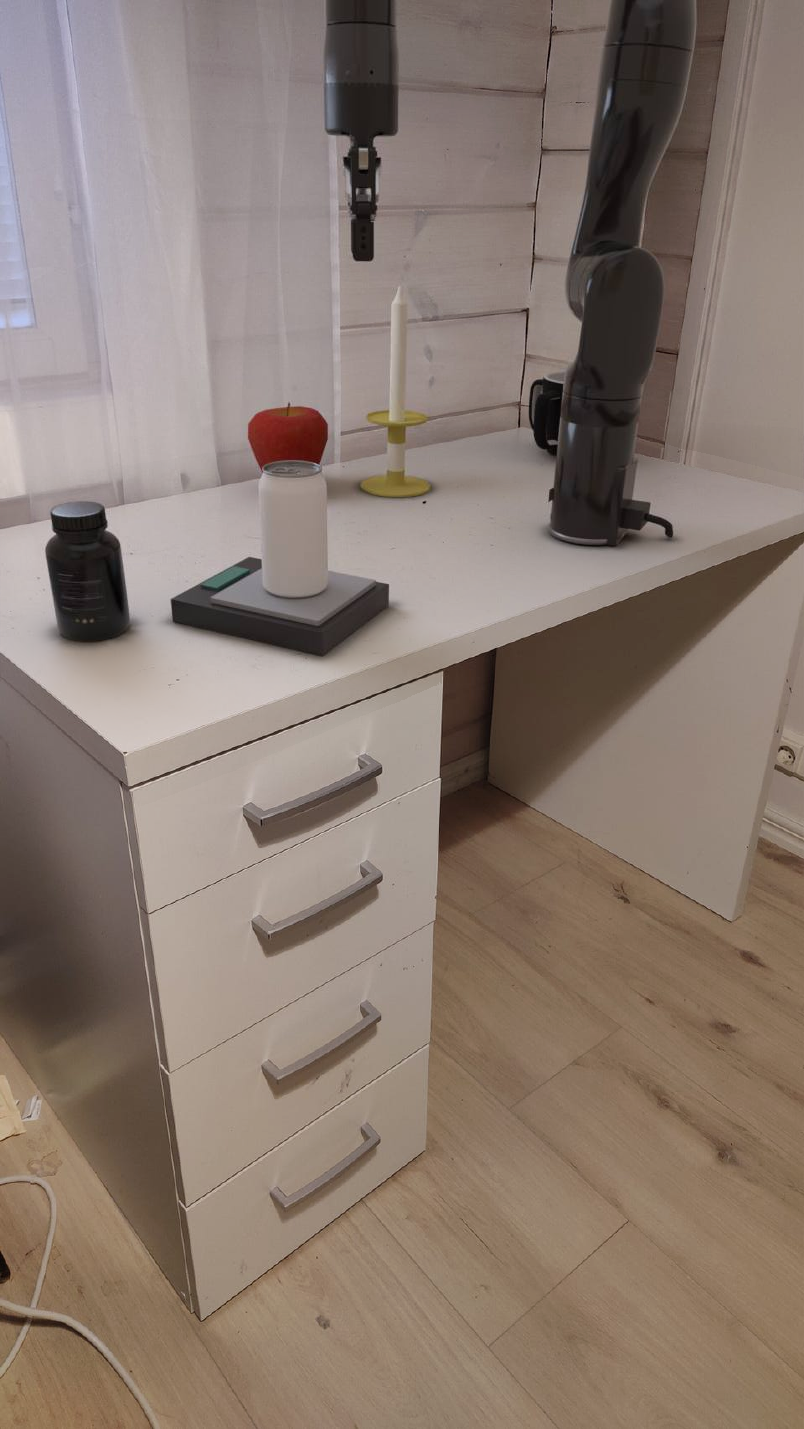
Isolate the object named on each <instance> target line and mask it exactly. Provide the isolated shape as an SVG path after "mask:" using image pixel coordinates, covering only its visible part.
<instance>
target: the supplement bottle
mask: <svg viewBox="0 0 804 1429" xmlns="http://www.w3.org/2000/svg"><path fill="white" fill-rule="evenodd" d="M49 514H50V518H51V519H50V520H51V530H52V532H53V533H54V535H52V537H50V538H49V539H48V541H47V542H46V545H45V547H44V553H45V560H46V566H47V573H48V577H49V583H50V590H51V591H50V592H51V596H52V602H53V608H54V614H55V620H56V624H57V629H58V631H59V633H60V634H61V635H62V636H64V637H65V638H67V639H70V640H72V641H76V642H77V641H78V642H97V641H98V642H99V641H104V640H108V639H112V638H115V637H117V636H119V635H121V634H123V633H124V632H125V631H126V630H127V629H128V628H129V626H130V623H131V616H130V615H131V614H130V607H129V598H128V590H127V583H126V574H125V567H124V560H123V553H122V552H123V550H122V545H121V542H120V540H119V538H117V535H115V534H114V533H112V532H111V531H109V530H107V529H108V527H109V523H108V519H107V515H106V508H105V506H104V505H103V504H102V503H99V502H95V501H87V500H79V501H78V500H77V501H76V500H75V501H70V502H65V503H60V504H57V505H56V506H53V507H52V508H51V509H50V513H49Z"/></svg>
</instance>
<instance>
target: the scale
mask: <svg viewBox="0 0 804 1429" xmlns="http://www.w3.org/2000/svg"><path fill="white" fill-rule="evenodd" d="M389 601H390V583H385V582H380V581H377V580H376V579H372V578H367V577H363V576H357V575H353V574H347V573H341V572H337V571H331V570H328V585H327V587H326V588H325V589H324V591H323V592H322V593H320V594H318V595H316V596H313V597H308V598H300V599H289V598H281V597H277V596H274V595H272V594H270V593H269V592H268V591H267V590H266V589H265V588H264V586H263V578H262V559H261V558H258V557H254V556H253V557H252V556H248V557H246V558H244V559H242V560H241V561H238V562H237V563H235V564H233V565H231V566H229V567H227V568H226V569H224V570H222V571H220V572H218V573H217V574H215V575H213V576H211V577H209V578H207V579H205V580H203V581H202V582H200V583H198V584H196V585H194V586H192V587H191V588H188V589H187V590H184V591H183V592H181V593H180V594H178V595H176V596H174V597H172V598H170V607H171V618H172V622H173V623H178V624H182V625H187V626H191V627H195V628H199V629H204V630H207V631H213V632H216V633H222V634H225V635H229V636H235V637H237V638H238V637H239V638H242V639H246V640H251V641H256V642H260V643H264V644H268V645H273V646H276V647H277V646H278V647H282V648H286V649H290V650H294V651H298V652H303V653H307V654H312V655H316V656H319V657H320V656H321V657H324V656H326V654H328V653H329V652H330V651H332V650H333V649H334V648H335V647H337V646H338V645H339V644H340V643H342V642H343V641H344V640H345V639H347V638H349V637H350V636H351V635H352V634H354V633H355V632H357V630H359V629H360V628H362V627H364V625H365V624H367V623H368V622H370V620H373V619H374V618H375V617H376V616H377V615H379V614H380V613H381V612H383V611H384V610H385V609H386V608H387V607H389V606H390V602H389Z"/></svg>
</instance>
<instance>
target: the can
mask: <svg viewBox="0 0 804 1429" xmlns="http://www.w3.org/2000/svg"><path fill="white" fill-rule="evenodd" d="M322 470H323V467H322V465H320V464H319V465H318V464H316V463H313V462H308V461H298V460H287V461H277V462H272V463H268V464H266V465H264V466H263V467H262V471H263V473H262V475H261V477H260V479H259V482H258V510H259V514H258V516H259V534H260V535H259V536H260V537H259V538H260V553H261V554H260V557H261V558H260V559H262V578H263V586H264V588H265V589H266V590H267V591H268V592H269V593H270V594H272V595H274V596H277V597H281V598H289V599H300V598H308V597H313V596H316V595H318V594H320V593H322V592H323V591H324V589H325V588H326V587H327V585H328V571H329V557H328V556H329V551H328V548H329V547H328V542H329V541H328V539H329V538H328V537H329V536H328V488H327V481H326V479H325V477H324V475H323V473H322ZM262 471H261V472H262Z"/></svg>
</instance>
